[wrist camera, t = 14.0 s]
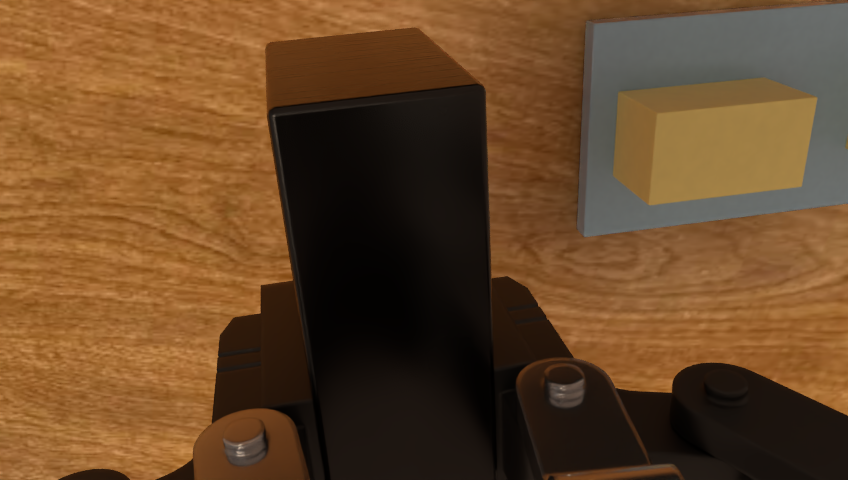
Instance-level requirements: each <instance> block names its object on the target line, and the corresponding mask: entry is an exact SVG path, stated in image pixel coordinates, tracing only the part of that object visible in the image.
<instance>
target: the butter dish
mask: <svg viewBox="0 0 848 480" xmlns="http://www.w3.org/2000/svg"><path fill="white" fill-rule="evenodd" d="M763 77H764V78H767V79H770V80H773V81H775V82H778V83H781V84H783V85H786V86H789V87H791V88H794V89H797V90H800V91H802V92H805V93H808V94H810V95H813V96H816V97H817V103H816V109H815V115H814V120H813V126H812V131H811V137H810V143H809V148H808V154H807V160H806V165H805V171H804V176H803V182H802V186H801V187H796V188H788V189H780V190H771V191H763V192H755V193H747V194H739V195H731V196H722V197H714V198H706V199H698V200H690V201H682V202H673V203H665V204H657V205H648V204H647V203H645V202H644V201H643V200H642V199H641V198H639V197H638V196H637V195H636V194H634V193H633V192H632V191H631V190H630V189H628V188H627V187H626V186H625V185H623V184H622V183H621V182H620V181H618V180H617V179H616V178H615V177H614V176H613V166H614V150H615V134H616V119H617V103H618V92H620V91H630V90H640V89H650V88H661V87H671V86H681V85H691V84H702V83H712V82H722V81H732V80H743V79H753V78H763ZM847 136H848V0H832V1H820V2H807V3H795V4H783V5H771V6H758V7H746V8H734V9H722V10H709V11H697V12H685V13H673V14H660V15H648V16H636V17H624V18H611V19H599V20H588V21H586V31H585V54H584V77H583V100H582V123H581V146H580V168H579V191H578V214H577V230H578V231H579V232H580V233H581V234H582V235H583V237H590V236H598V235H606V234H614V233H621V232H629V231H637V230H645V229H653V228H661V227H668V226H676V225H684V224H692V223H700V222H708V221H716V220H723V219H731V218H739V217H747V216H755V215H763V214H771V213H778V212H786V211H794V210H802V209H810V208H818V207H825V206H833V205H841V204H848V149H846V148H845V146H846V141H847Z"/></svg>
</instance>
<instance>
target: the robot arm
mask: <svg viewBox="0 0 848 480" xmlns="http://www.w3.org/2000/svg"><path fill="white" fill-rule="evenodd" d="M492 311H493V343H494V377H495V408H496V440H497V471H498V480H848V416H847V415H845V414H843V413H841V412H838V411H836V410H834V409H832V408H830V407H828V406H826V405H823V404H821V403H819V402H817V401H815V400H813V399H811V398H808V397H806V396H804V395H802V394H800V393H798V392H795V391H793V390H791V389H789V388H787V387H785V386H783V385H780V384H778V383H776V382H774V381H772V380H770V379H768V378H765V377H763V376H761V375H759V374H757V373H755V372H752V371H750V370H748V369H745V368H742V367H739V366H735V365H730V364H724V363H701V364H696V365H692V366H689V367H687V368H685V369H683V370H681V371H680V372H679V373H678V374H677V375H676V376H675V378H674V380H673V385H672V393H662V392H638V391H628V390H622V389H618V388H615V386H614V384H613V382H612V380H611V379H610V377H609V376H608V375H607V374H606V373H605V372H604V371H603V370H602V369H600V368H599V367H597V366H595V365H594V364H592V363H589V362H586V361H583V360H579V359H574V357H573V356H572V354H571V353H570V351H569V350H568V348H567V347H566V345H565V344H564V342H563V341H562V339H561V338H560V336H559V335H558V333H557V332H556V330H555V329H554V327H553V326H552V324H551V323H550V321H549V320H547V318H546V315H545V314H544V312H543V311H542V309H541V308H540V307H538V303H537V302H536V300H535V299H534V297H533V296H532V294H531V293H530V291H529V290H528V288H526V287H525V286H523V285H521V284H520V283H518V282H516V281H515V280H513V279H511V278H510V277H508V276H505V277H499V278H492ZM218 356H219V358H218V361H217V373H216V383H215V394H214V405H213V416H212V424H211V425H209V426H208V427H207V428H206V429H205V430H204V431H203V432H202V433H201V434H200V435H199V437H198V439H197V440H196V442H195V445H194V448H193V459H192V460H191V461H190V462H188V463H187V464H185V465H184V466H183V467H181V468H179V469H177V470H176V471H174V472H172V473H170V474H168V475H166V476H163V477H161V478H159V479H156V480H325V476H324V470H323V463H322V457H321V451H320V445H319V438H318V432H317V426H316V420H315V413H314V407H313V401H312V395H311V388H310V382H309V376H308V370H307V363H306V357H305V351H304V345H303V338H302V332H301V326H300V320H299V313H298V307H297V301H296V295H295V288H294V282H293V281H288V282H281V283H274V284H267V285H261V314H254V315H248V316H241V317H235V318H233V319H232V321H231V322H230V323H229V324H228V326H227V327H226V328H225V330H224V331H223V332H222V333H221V335H220V340H219V351H218ZM59 480H130V479H129V478H128V477H127V476H125V475H124V474H122V473H120V472H118V471H114V470H109V469H92V470H85V471H81V472H77V473H73V474H71V475H68V476H65V477H63V478H61V479H59Z"/></svg>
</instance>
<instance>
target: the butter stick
mask: <svg viewBox="0 0 848 480" xmlns="http://www.w3.org/2000/svg"><path fill="white" fill-rule="evenodd" d="M816 103H817V97H816V96H813V95H810V94H808V93H805V92H802V91H800V90H797V89H794V88H791V87H789V86H786V85H783V84H781V83H778V82H775V81H773V80H770V79H767V78H764V77H763V78H753V79H743V80H732V81H722V82H712V83H702V84H691V85H681V86H671V87H661V88H650V89H640V90H630V91H620V92H618V103H617V119H616V134H615V150H614V166H613V176H614V177H615V178H616V179H617V180H618V181H620V182H621V183H622V184H623V185H625V186H626V187H627V188H628V189H630V190H631V191H632V192H633V193H634V194H636V195H637V196H638V197H639V198H641V199H642V200H643V201H644V202H645V203H647V204H648V205H657V204H665V203H673V202H682V201H690V200H698V199H706V198H714V197H722V196H731V195H739V194H747V193H755V192H763V191H771V190H780V189H788V188H796V187H801V186H802V182H803V176H804V171H805V165H806V160H807V154H808V148H809V143H810V137H811V131H812V126H813V120H814V115H815V109H816Z"/></svg>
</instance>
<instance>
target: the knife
mask: <svg viewBox="0 0 848 480" xmlns="http://www.w3.org/2000/svg"><path fill="white" fill-rule="evenodd" d="M265 54H266V97H267V120H268V126H269V132H270V138H271V145H272V151H273V157H274V163H275V170H276V176H277V182H278V188H279V195H280V201H281V207H282V213H283V220H284V226H285V232H286V238H287V245H288V251H289V257H290V263H291V270H292V276H293V282H294V288H295V295H296V301H297V307H298V313H299V320H300V326H301V332H302V338H303V345H304V351H305V357H306V363H307V370H308V376H309V382H310V388H311V395H312V401H313V407H314V413H315V420H316V426H317V432H318V438H319V445H320V451H321V457H322V463H323V470H324V476H325V480H498V471H497V440H496V408H495V377H494V343H493V311H492V279H491V248H490V216H489V184H488V152H487V121H486V91H485V88H484V86H483V85H482V84H481V83H480V82H479V81H478V80H477V79H475V78H474V77H473V76H472V75H471V74H470V73H469V72H468V71H466V70H465V69H464V68H463V67H462V66H461V65H460V64H458V63H457V62H456V61H455V60H454V59H453V58H452V57H450V56H449V55H448V54H447V53H446V52H445V51H444V50H442V49H441V48H440V47H439V46H438V45H437V44H436V43H434V42H433V41H432V40H431V39H430V38H429V37H428V36H427V35H425V34H424V33H423V32H422V31H421V30H420V29H418V28H405V29H395V30H385V31H376V32H366V33H356V34H346V35H337V36H327V37H317V38H307V39H297V40H288V41H278V42H270V43H268V44H267V45H266V49H265Z"/></svg>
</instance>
